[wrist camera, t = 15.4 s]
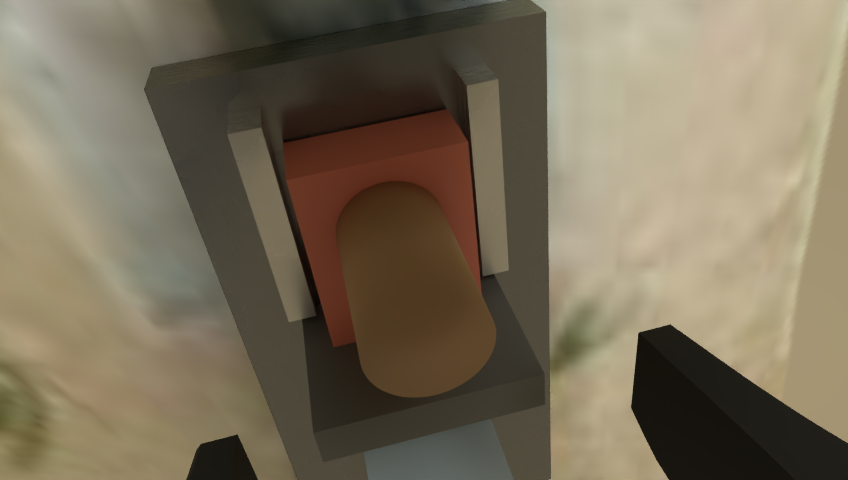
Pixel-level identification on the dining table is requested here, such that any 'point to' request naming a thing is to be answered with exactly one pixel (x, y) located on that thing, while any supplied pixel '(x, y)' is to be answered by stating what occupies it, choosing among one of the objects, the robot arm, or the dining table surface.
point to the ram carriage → (401, 289)
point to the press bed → (347, 109)
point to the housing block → (443, 456)
